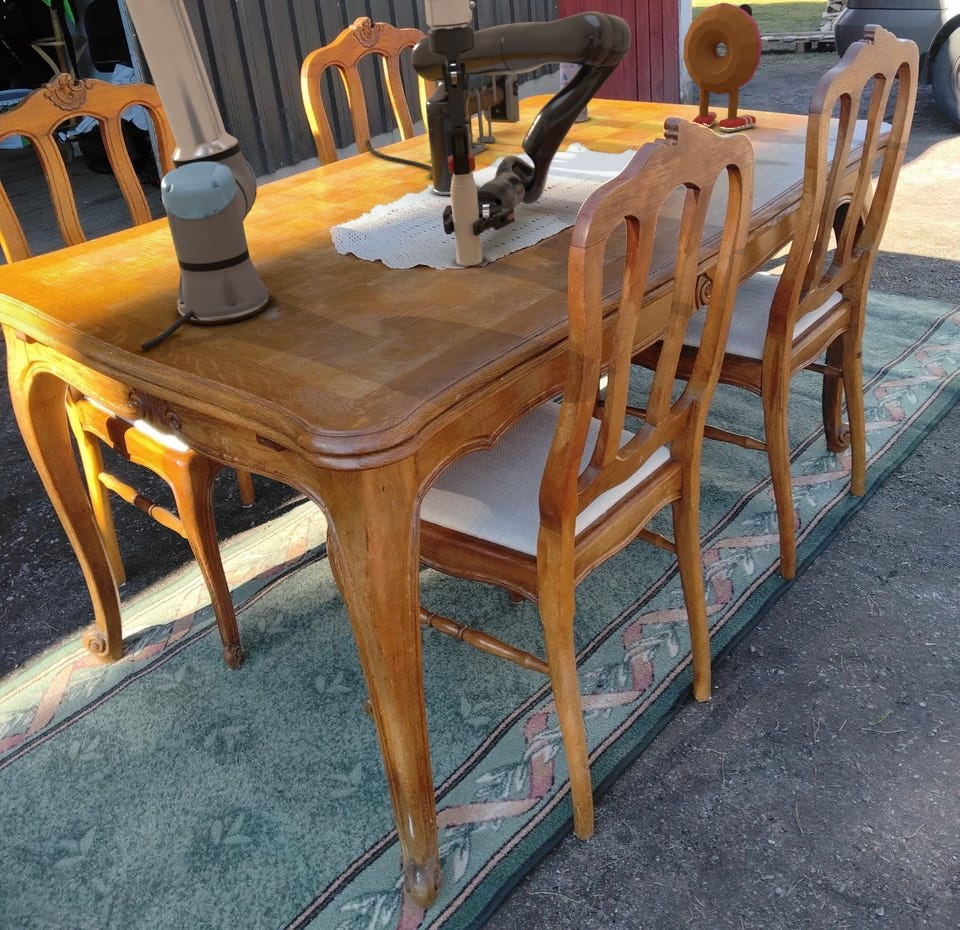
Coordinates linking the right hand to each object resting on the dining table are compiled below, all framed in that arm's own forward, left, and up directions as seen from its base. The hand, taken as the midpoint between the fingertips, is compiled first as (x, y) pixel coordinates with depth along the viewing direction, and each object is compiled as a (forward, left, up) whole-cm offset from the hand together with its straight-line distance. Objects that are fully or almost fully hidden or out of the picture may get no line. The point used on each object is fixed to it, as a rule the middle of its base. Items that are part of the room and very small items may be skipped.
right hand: (461, 229), depth 173 cm
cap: (-2, +1, +12) cm, 12 cm away
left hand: (-2, +1, +10) cm, 10 cm away
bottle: (-2, +1, -7) cm, 7 cm away
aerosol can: (-117, +39, -7) cm, 124 cm away
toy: (-90, +74, -7) cm, 117 cm away
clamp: (-95, +9, -7) cm, 95 cm away
